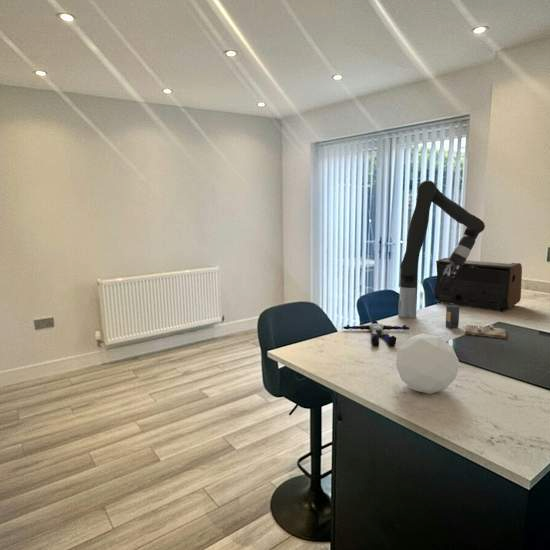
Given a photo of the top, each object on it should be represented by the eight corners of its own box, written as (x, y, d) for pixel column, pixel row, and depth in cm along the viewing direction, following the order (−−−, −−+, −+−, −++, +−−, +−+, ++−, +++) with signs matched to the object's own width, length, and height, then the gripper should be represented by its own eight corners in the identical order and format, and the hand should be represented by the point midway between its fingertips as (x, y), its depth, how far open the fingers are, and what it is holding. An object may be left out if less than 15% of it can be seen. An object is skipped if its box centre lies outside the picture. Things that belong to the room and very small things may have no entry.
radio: (426, 303, 253) (428, 260, 248) (448, 295, 275) (450, 255, 270) (503, 316, 221) (507, 267, 216) (521, 305, 243) (525, 260, 238)
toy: (346, 335, 176) (342, 316, 206) (346, 348, 177) (342, 327, 207) (422, 336, 173) (406, 316, 202) (421, 349, 174) (406, 328, 203)
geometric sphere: (409, 408, 135) (373, 359, 137) (441, 375, 144) (408, 329, 146) (448, 404, 118) (407, 348, 120) (482, 366, 127) (444, 315, 130)
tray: (464, 334, 190) (465, 327, 190) (466, 327, 201) (466, 320, 200) (505, 338, 182) (506, 331, 182) (504, 331, 193) (505, 324, 192)
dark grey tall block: (453, 325, 205) (454, 305, 203) (458, 327, 201) (459, 306, 200) (445, 326, 203) (446, 306, 201) (450, 328, 200) (451, 307, 198)
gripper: (448, 251, 213) (433, 278, 215) (457, 252, 199) (441, 280, 201) (461, 258, 213) (446, 284, 214) (471, 258, 199) (455, 287, 200)
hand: (444, 282), depth 208 cm, fingers open, 8 cm apart
